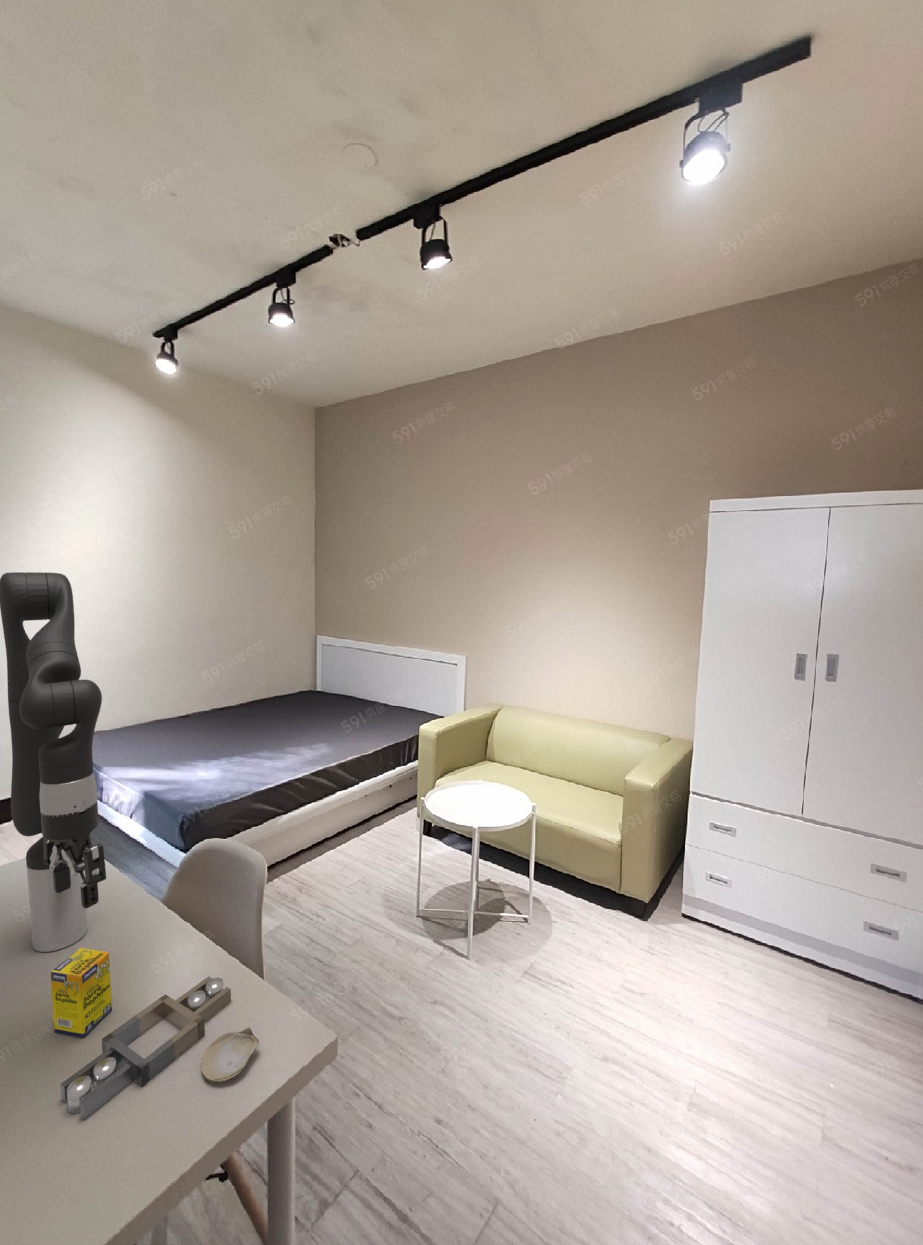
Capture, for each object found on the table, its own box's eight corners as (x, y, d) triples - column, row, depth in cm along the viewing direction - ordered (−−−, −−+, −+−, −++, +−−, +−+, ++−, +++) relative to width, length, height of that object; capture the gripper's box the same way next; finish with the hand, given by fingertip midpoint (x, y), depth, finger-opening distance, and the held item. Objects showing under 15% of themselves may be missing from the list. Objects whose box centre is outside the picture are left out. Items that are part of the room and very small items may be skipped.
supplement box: (84, 1039, 89) (80, 976, 88) (53, 1033, 90) (48, 971, 89) (113, 1010, 95) (110, 951, 94) (83, 1005, 96) (79, 946, 95)
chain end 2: (136, 1032, 91) (135, 1015, 90) (203, 983, 101) (202, 967, 101) (175, 1059, 86) (174, 1042, 85) (241, 1005, 96) (240, 989, 96)
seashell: (200, 1071, 86) (211, 1098, 80) (194, 1052, 86) (205, 1078, 80) (252, 1035, 91) (266, 1058, 84) (247, 1018, 91) (261, 1040, 84)
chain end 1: (50, 1094, 80) (49, 1076, 80) (136, 1032, 91) (135, 1015, 90) (89, 1130, 75) (88, 1110, 75) (175, 1059, 86) (174, 1042, 85)
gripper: (20, 802, 89) (28, 897, 91) (66, 822, 82) (74, 924, 84) (71, 786, 96) (78, 875, 97) (118, 803, 89) (124, 898, 90)
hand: (76, 897), depth 91 cm, fingers open, 8 cm apart
